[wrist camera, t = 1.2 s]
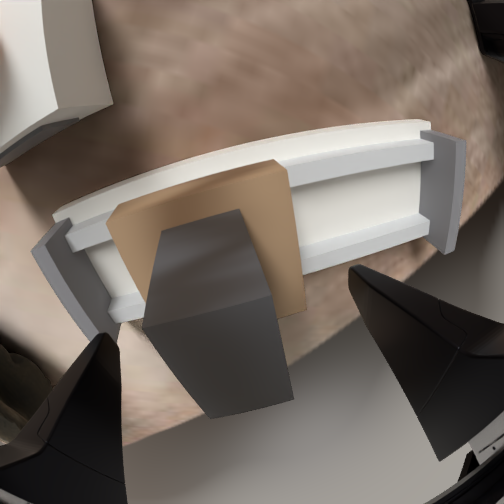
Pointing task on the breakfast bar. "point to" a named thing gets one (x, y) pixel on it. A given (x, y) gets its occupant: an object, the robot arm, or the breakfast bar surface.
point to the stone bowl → (19, 393)
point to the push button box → (47, 71)
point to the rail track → (304, 204)
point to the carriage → (218, 282)
